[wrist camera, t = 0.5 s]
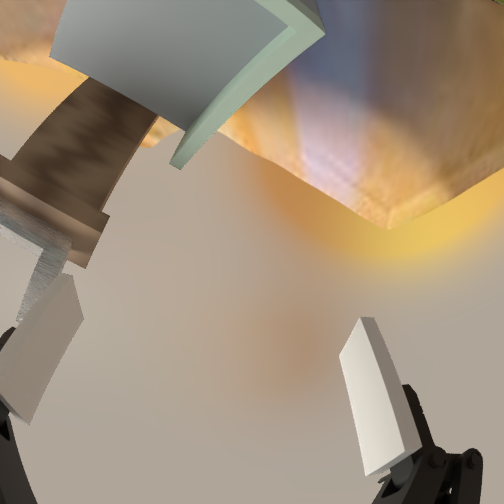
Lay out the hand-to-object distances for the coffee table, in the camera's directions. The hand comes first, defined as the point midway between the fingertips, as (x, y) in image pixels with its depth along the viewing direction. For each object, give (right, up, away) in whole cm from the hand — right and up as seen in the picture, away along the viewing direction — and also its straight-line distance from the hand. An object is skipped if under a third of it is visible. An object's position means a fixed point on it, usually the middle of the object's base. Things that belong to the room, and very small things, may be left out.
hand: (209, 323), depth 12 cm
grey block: (-1, +35, +11) cm, 37 cm away
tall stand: (-12, +31, +21) cm, 40 cm away
